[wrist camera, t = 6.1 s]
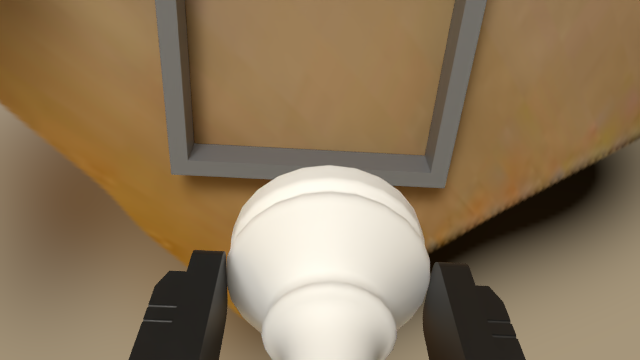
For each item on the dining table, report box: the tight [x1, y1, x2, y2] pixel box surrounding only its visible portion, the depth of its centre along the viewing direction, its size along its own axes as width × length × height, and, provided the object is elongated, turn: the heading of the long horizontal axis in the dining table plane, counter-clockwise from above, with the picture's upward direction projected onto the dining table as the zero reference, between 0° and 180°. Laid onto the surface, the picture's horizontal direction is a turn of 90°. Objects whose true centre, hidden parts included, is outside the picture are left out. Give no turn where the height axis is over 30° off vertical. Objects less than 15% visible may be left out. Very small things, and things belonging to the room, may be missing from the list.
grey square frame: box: [155, 0, 487, 188], centre depth 29 cm, size 16×16×2 cm
